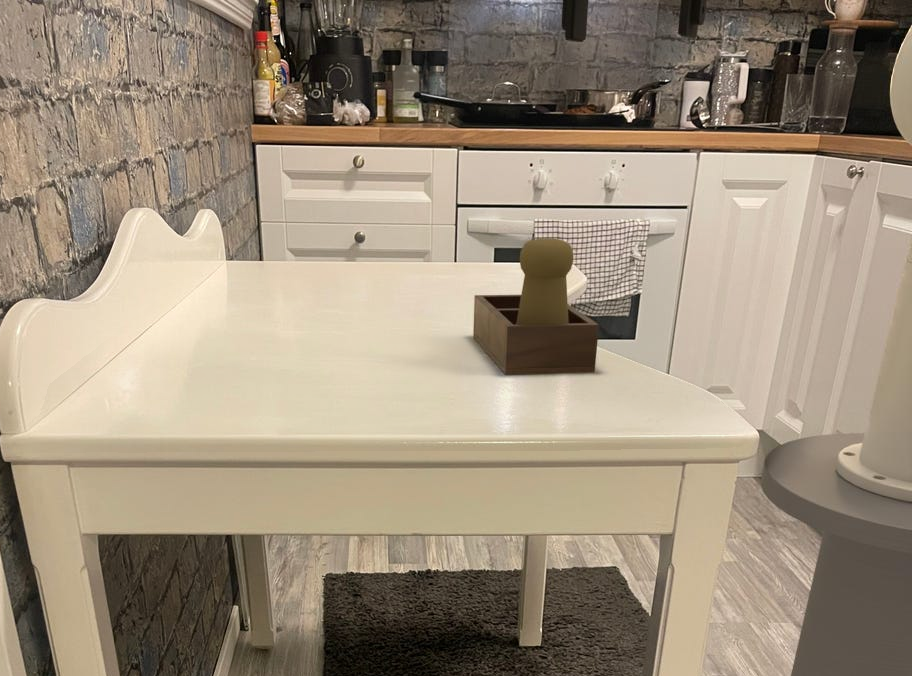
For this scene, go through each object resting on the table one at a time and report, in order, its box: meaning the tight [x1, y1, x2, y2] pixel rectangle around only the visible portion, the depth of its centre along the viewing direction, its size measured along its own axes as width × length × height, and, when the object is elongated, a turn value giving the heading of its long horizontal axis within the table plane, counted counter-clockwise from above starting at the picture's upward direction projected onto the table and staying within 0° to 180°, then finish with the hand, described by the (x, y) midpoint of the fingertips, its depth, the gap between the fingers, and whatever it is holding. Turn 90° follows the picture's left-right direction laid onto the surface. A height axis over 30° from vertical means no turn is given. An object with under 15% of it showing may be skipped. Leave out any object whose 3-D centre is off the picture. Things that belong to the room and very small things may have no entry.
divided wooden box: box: [472, 294, 600, 376], centre depth 100 cm, size 17×9×5 cm, turn 8°
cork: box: [516, 237, 575, 325], centre depth 95 cm, size 6×6×11 cm
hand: (629, 38), depth 79 cm, fingers open, 9 cm apart
